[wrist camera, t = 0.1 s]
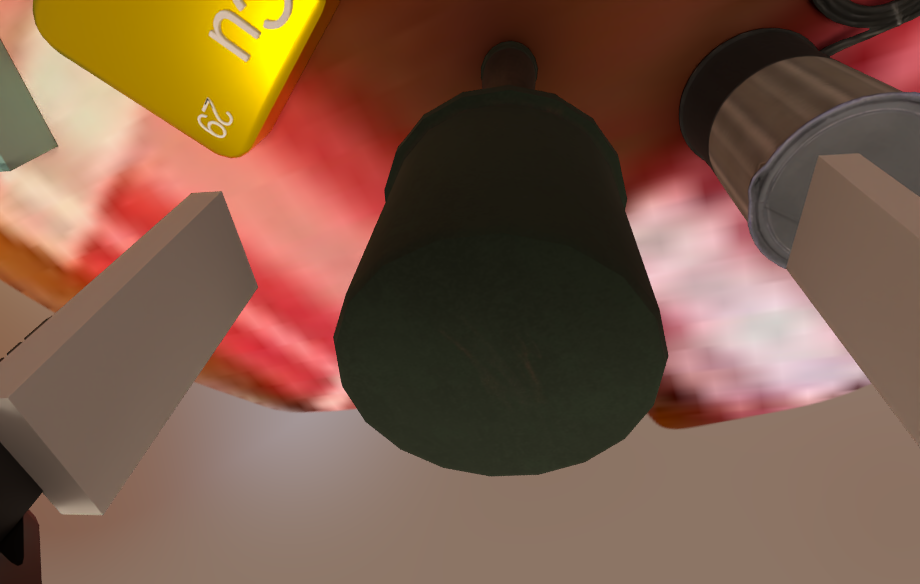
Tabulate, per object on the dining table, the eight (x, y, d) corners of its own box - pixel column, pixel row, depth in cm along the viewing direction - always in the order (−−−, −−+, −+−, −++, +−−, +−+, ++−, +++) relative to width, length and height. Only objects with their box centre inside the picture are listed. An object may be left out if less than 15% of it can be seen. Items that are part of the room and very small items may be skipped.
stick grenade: (471, 145, 40) (402, 509, 16) (428, 24, 36) (240, 274, 11) (585, 108, 38) (708, 466, 14) (554, -26, 34) (656, 154, 9)
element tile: (129, -214, 30) (72, -231, 27) (357, -28, 35) (337, -20, 31) (68, 20, 38) (17, 34, 34) (262, 149, 42) (236, 174, 39)
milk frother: (674, 175, 40) (742, 289, 28) (674, -74, 32) (771, -62, 20) (890, 139, 38) (1066, 249, 26) (954, -144, 29) (1266, -180, 17)
